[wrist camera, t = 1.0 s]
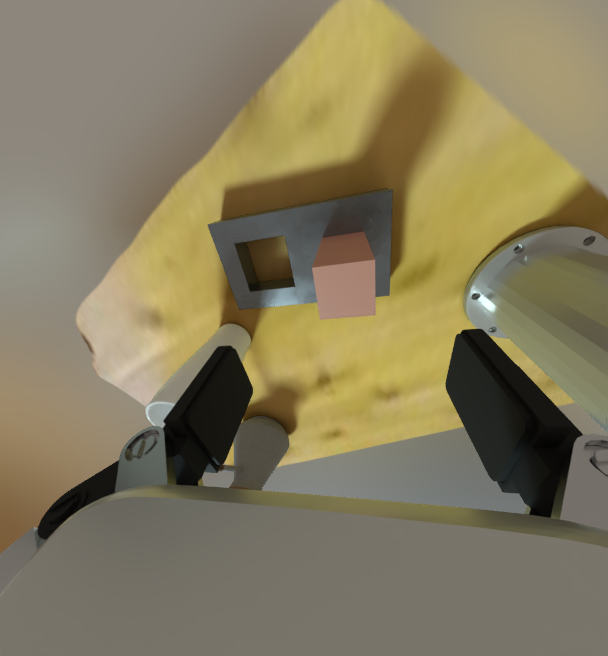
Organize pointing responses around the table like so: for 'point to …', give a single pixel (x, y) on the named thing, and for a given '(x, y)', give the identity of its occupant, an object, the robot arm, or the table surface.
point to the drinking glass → (195, 370)
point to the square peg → (344, 276)
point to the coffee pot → (257, 452)
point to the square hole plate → (303, 245)
